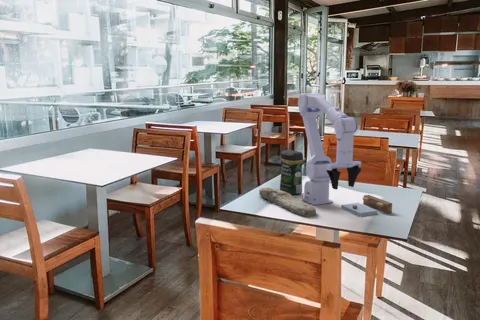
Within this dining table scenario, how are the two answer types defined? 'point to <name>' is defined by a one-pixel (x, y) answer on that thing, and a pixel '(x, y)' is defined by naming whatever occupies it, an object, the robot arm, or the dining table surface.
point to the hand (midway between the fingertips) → (343, 187)
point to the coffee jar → (291, 172)
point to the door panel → (359, 209)
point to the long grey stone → (287, 201)
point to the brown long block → (377, 203)
